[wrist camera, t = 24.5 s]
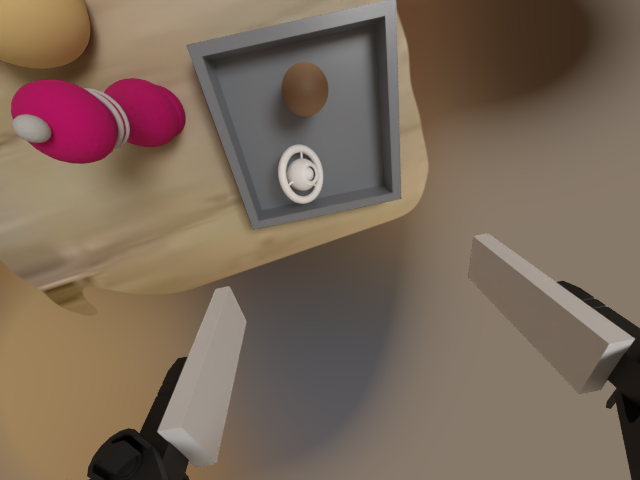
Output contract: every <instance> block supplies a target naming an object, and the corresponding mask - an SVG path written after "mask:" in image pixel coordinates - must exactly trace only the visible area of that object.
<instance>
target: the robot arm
mask: <svg viewBox="0 0 640 480" xmlns="http://www.w3.org/2000/svg"><path fill="white" fill-rule="evenodd" d="M468 278H469V279H470V280H471V281H472V282H473V283H474V284H475V285H476V286H477V287H478V288H479V289H480V290H481V291H482V293H483V294H484V295H485V296H486V297H487V298H488V299H489V300H490V301H491V302H492V303H493V304H494V305H495V306H496V307H497V308H498V309H499V310H500V311H501V313H502V314H503V315H504V316H505V317H506V318H507V319H508V320H509V321H510V322H511V323H512V324H513V325H514V326H515V327H516V328H517V329H518V330H519V331H520V333H521V334H522V335H523V336H524V337H525V338H526V339H527V340H528V341H529V342H530V343H531V344H532V345H533V346H534V347H535V348H536V349H537V350H538V351H539V352H540V354H542V356H543V357H544V358H545V359H546V360H547V361H548V362H549V363H550V364H551V365H552V366H553V367H554V368H555V369H556V370H557V371H558V373H559V374H560V375H562V377H563V378H564V379H565V380H566V381H567V382H568V383H569V384H570V385H571V386H572V387H573V388H574V389H575V390H576V391H577V392H578V394H582V393H588V392H593V391H598V390H601V389H602V387H603V386H604V384H605V383H606V381H607V380H609V381H610V382H611V383H612V384H613V385H614V386H615V387H616V390H615V391H614V392H613V394H612V395H611V397H610V398H609V399H608V401H607V404H606V407H607V408H609V409H611V408H612V406H613V405H614V404H615V402H616V405H617V410H618V415H619V420H620V424H621V430H622V435H623V440H624V445H625V449H626V454H627V459H628V464H629V469H630V474H631V479H632V480H640V328H638V327H637V326H636V325H634V324H632V323H631V322H630V321H628V320H627V319H625V318H624V317H622V316H621V315H619V314H617V313H616V312H615V311H613V310H612V309H610V308H609V307H606V306H605V304H603V303H602V302H600V301H599V300H597V299H594V297H593V296H591V295H590V294H588V293H587V292H585V291H584V290H582V289H581V288H579V287H577V286H574V285H572V284H570V283H567V282H565V281H560V282H555V281H554V280H552V279H551V278H550V277H548V276H546V275H545V274H544V273H542V272H541V271H540V270H538V269H537V268H536V267H534V266H533V265H531V264H530V263H529V262H527V261H526V260H524V259H523V258H522V257H520V256H519V255H517V254H516V253H515V252H513V251H512V250H510V249H509V248H508V247H506V246H505V245H503V244H502V243H501V242H499V241H498V240H496V239H495V238H494V237H492V236H491V235H490V234H488V233H487V234H483V235H478V236H474V237H473V244H472V250H471V258H470V265H469V273H468ZM245 327H246V320H245V317H244V315H243V313H242V311H241V309H240V307H239V305H238V303H237V301H236V299H235V297H234V294H233V292H232V290H231V288H230V286H228V287H223V288H219V289H216V290H215V292H214V294H213V297H212V299H211V302H210V304H209V306H208V309H207V311H206V314H205V316H204V319H203V321H202V324H201V326H200V328H199V331H198V333H197V336H196V338H195V341H194V343H193V346H192V348H191V351H190V353H189V355H188V357H183V358H178V359H177V360H176V362H175V363H174V364H173V365H172V367H171V368H170V369H169V370H168V373H167V375H166V377H165V379H164V381H163V385H162V386H161V388H160V390H159V392H158V396H157V397H156V398H155V401H154V403H153V405H152V407H151V409H150V412H149V414H148V416H147V418H146V420H145V422H144V425H143V427H142V429H141V431H140V433H138V432H137V431H136V430H135V429H125V430H122V431H119V432H118V433H116V434H115V435H113V436H112V437H110V438H109V439H108V440H107V441H106V442H105V443H104V444H103V445H102V446H101V447H100V448H99V450H98V451H97V452H96V454H95V455H94V456H93V458H92V461H91V463H90V465H89V467H88V474H87V476H88V477H89V478H91V479H89V480H189V478H188V476H187V475H186V473H185V472H186V468H187V465H188V462H191V464H193V465H194V466H195V467H201V466H205V465H211V464H216V463H217V457H218V453H219V448H220V444H221V439H222V434H223V429H224V425H225V420H226V416H227V411H228V406H229V402H230V397H231V392H232V387H233V383H234V377H235V373H236V369H237V363H238V359H239V355H240V350H241V345H242V341H243V336H244V331H245Z"/></svg>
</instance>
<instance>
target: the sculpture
mask: <svg viewBox="0 0 640 480" xmlns="http://www.w3.org/2000/svg"><path fill="white" fill-rule="evenodd" d="M89 38H90V20H89V16H88V12H87V9H86V6H85V3H84V1H83V0H0V60H1V61H4V62H7V63H10V64H13V65H17V66H21V67H27V68H35V69H47V68H55V67H60V66H63V65H66V64H68V63H71V62H72V61H74V60H76V59H77V58H78V57H79V56H80V55H81V54H82V53H83V52H84V50H85V49H86V47H87V45H88V42H89Z"/></svg>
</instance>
